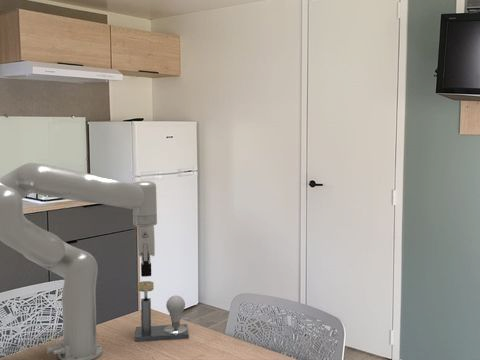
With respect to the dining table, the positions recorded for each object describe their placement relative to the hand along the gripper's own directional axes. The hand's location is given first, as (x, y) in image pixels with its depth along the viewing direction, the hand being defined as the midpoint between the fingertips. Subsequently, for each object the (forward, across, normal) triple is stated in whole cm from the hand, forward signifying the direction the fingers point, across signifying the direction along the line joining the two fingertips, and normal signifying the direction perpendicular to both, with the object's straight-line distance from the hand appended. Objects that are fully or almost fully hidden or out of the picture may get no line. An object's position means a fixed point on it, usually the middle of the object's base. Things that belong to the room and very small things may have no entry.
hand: (146, 275), depth 172 cm
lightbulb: (+19, 0, -9) cm, 21 cm away
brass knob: (+9, 0, 0) cm, 9 cm away
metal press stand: (+20, 0, -5) cm, 21 cm away
